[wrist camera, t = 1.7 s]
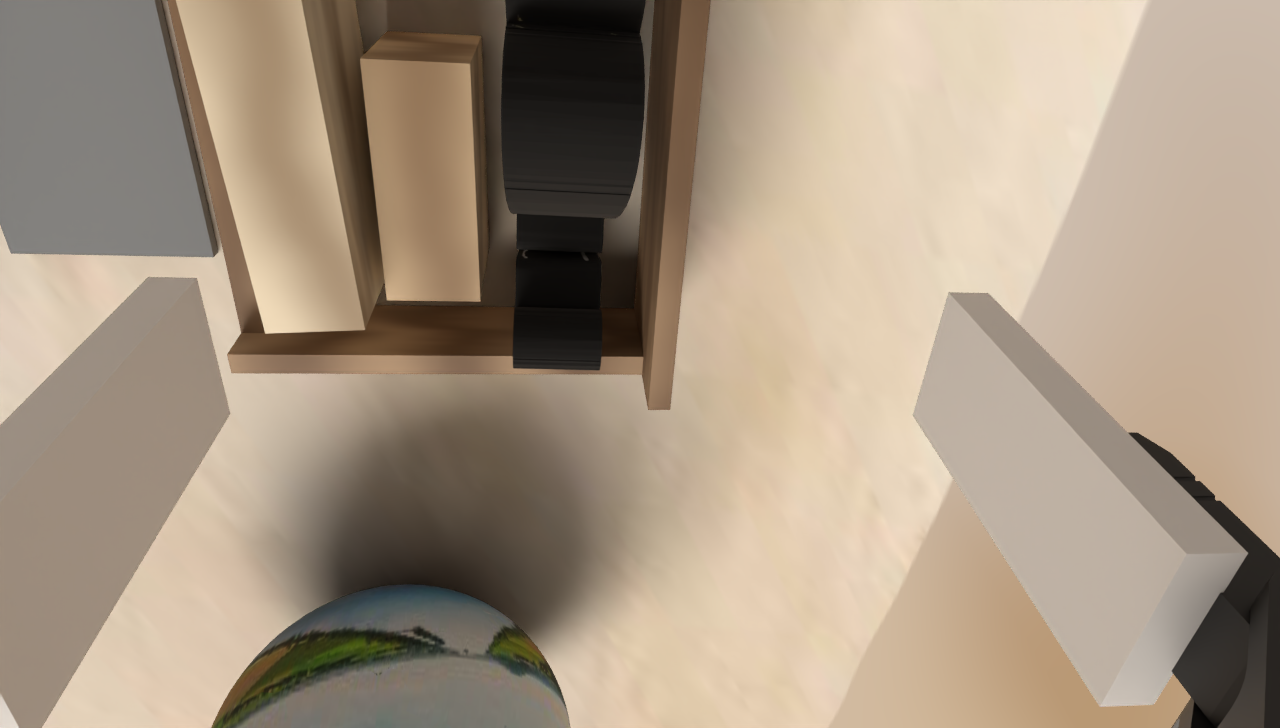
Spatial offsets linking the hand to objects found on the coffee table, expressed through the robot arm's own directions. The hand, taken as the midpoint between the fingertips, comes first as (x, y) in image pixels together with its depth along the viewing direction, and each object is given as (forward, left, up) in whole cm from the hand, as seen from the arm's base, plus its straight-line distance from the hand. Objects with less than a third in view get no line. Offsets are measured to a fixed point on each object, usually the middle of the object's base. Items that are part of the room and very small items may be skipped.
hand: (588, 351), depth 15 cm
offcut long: (-11, -2, -26) cm, 28 cm away
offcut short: (-6, -4, -26) cm, 26 cm away
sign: (0, 0, -26) cm, 26 cm away
